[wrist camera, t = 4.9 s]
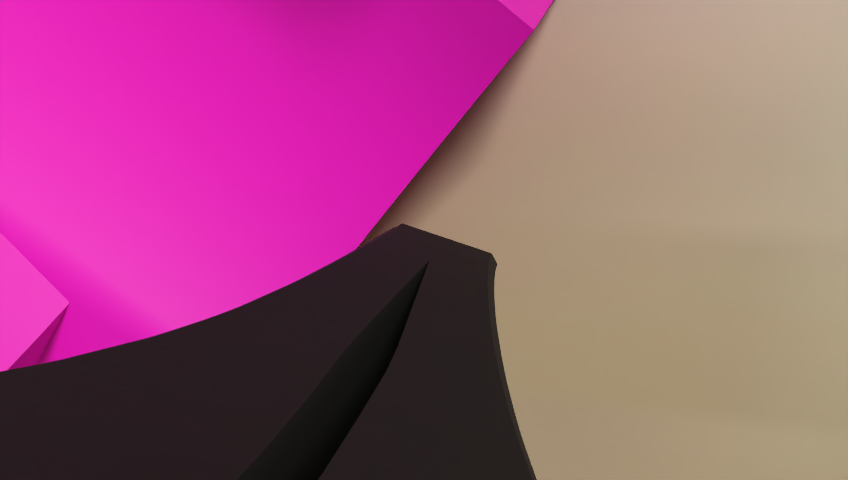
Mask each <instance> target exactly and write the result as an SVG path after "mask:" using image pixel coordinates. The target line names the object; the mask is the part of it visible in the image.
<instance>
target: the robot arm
mask: <svg viewBox="0 0 848 480" xmlns="http://www.w3.org/2000/svg"><path fill="white" fill-rule="evenodd" d="M496 266H497V263H496V261H495V259H494V257H493V255H492V254H491V253H488V252H486V251H483V250H480V249H477V248H474V247H471V246H468V245H465V244H462V243H459V242H456V241H453V240H450V239H447V238H444V237H441V236H438V235H435V234H432V233H429V232H426V231H423V230H420V229H417V228H414V227H411V226H408V225H405V224H401V225H399V226H397V227H395V228H392V229H391V230H389V231H387V232H385V233H383V234H382V235H380V236H378V237H377V238H375V239H373V240H371V241H370V242H368V243H366V244H364V245H363V246H361V247H359V248H357V249H356V250H354V251H352V252H350V253H348V254H347V255H345V256H343V257H341V258H340V259H338V260H336V261H334V262H332V263H330V264H328V265H326V266H324V267H322V268H320V269H318V270H317V271H315V272H313V273H311V274H309V275H307V276H305V277H303V278H301V279H299V280H297V281H295V282H293V283H291V284H289V285H287V286H284V287H282V288H280V289H278V290H276V291H273V292H271V293H269V294H267V295H264V296H262V297H260V298H258V299H255V300H253V301H251V302H249V303H246V304H244V305H242V306H240V307H237V308H235V309H232V310H230V311H227V312H224V313H221V314H219V315H216V316H213V317H211V318H208V319H205V320H202V321H199V322H196V323H193V324H190V325H187V326H184V327H181V328H178V329H175V330H172V331H169V332H165V333H162V334H159V335H155V336H152V337H149V338H145V339H141V340H137V341H133V342H129V343H125V344H121V345H117V346H113V347H109V348H105V349H101V350H97V351H93V352H89V353H85V354H81V355H77V356H73V357H69V358H65V359H61V360H57V361H52V362H47V363H42V364H37V365H32V366H27V367H22V368H16V369H11V370H6V371H1V372H0V480H537V479H536V477H535V474H534V471H533V468H532V466H531V463H530V460H529V457H528V454H527V452H526V449H525V446H524V443H523V439H522V436H521V433H520V430H519V427H518V423H517V420H516V416H515V413H514V409H513V405H512V401H511V397H510V393H509V389H508V385H507V381H506V377H505V372H504V367H503V362H502V356H501V350H500V344H499V338H498V332H497V325H496V316H495V302H494V277H495V270H496Z"/></svg>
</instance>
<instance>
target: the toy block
mask: <svg viewBox="0 0 848 480" xmlns="http://www.w3.org/2000/svg"><path fill="white" fill-rule="evenodd" d="M552 2H553V0H0V372H1V371H6V370H11V369H16V368H22V367H27V366H32V365H37V364H42V363H47V362H52V361H57V360H61V359H65V358H69V357H73V356H77V355H81V354H85V353H89V352H93V351H97V350H101V349H105V348H109V347H113V346H117V345H121V344H125V343H129V342H133V341H137V340H141V339H145V338H149V337H152V336H155V335H159V334H162V333H165V332H169V331H172V330H175V329H178V328H181V327H184V326H187V325H190V324H193V323H196V322H199V321H202V320H205V319H208V318H211V317H213V316H216V315H219V314H221V313H224V312H227V311H230V310H232V309H235V308H237V307H240V306H242V305H244V304H246V303H249V302H251V301H253V300H255V299H258V298H260V297H262V296H264V295H267V294H269V293H271V292H273V291H276V290H278V289H280V288H282V287H284V286H287V285H289V284H291V283H293V282H295V281H297V280H299V279H301V278H303V277H305V276H307V275H309V274H311V273H313V272H315V271H317V270H318V269H320V268H322V267H324V266H326V265H328V264H330V263H332V262H334V261H336V260H338V259H340V258H341V257H343V256H345V255H347V254H348V253H350V252H352V251H354V250H356V248H357V247H358V246H359V245H360V243H361V242H362V241H363V240H364V238H365V237H366V236H367V235H368V233H369V232H370V231H371V230H372V228H373V227H374V226H375V225H376V223H377V222H378V221H379V220H380V218H381V217H382V216H383V215H384V213H385V212H386V211H387V210H388V208H389V207H390V206H391V205H392V203H393V202H394V201H395V200H396V198H397V197H398V196H399V195H400V193H401V192H402V191H403V190H404V188H405V187H406V186H407V185H408V183H409V182H410V181H411V180H412V178H413V177H414V176H415V175H416V173H417V172H418V171H419V170H420V168H421V167H422V166H423V165H424V164H425V162H426V161H427V160H428V159H429V157H430V156H431V155H432V154H433V152H434V151H435V150H436V149H437V147H438V146H439V145H440V144H441V143H442V141H443V140H444V139H445V138H446V136H447V135H448V134H449V133H450V131H451V130H452V129H453V128H454V127H455V125H456V124H457V123H458V122H459V120H460V119H461V118H462V117H463V115H464V114H465V113H466V112H467V111H468V109H469V108H470V107H471V106H472V104H473V103H474V102H475V101H476V100H477V98H478V97H479V96H480V95H481V93H482V92H483V91H484V90H485V89H486V87H487V86H488V85H489V84H490V82H491V81H492V80H493V79H494V78H495V76H496V75H497V74H498V73H499V71H500V70H501V69H502V68H503V67H504V65H505V64H506V63H507V62H508V61H509V59H510V58H511V57H512V56H513V55H514V53H515V52H516V51H517V50H518V48H519V47H520V46H521V45H522V44H523V42H524V41H525V40H526V39H527V38H528V36H529V35H530V34H531V33H532V32H533V30H534V29H535V27H536V26H537V24H538V23H539V21H540V20H541V18H542V17H543V15H544V14H545V12H546V11H547V9H548V8H549V6H550V5H551V3H552Z"/></svg>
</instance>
